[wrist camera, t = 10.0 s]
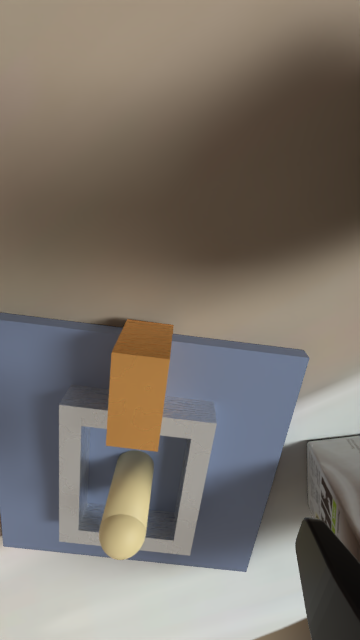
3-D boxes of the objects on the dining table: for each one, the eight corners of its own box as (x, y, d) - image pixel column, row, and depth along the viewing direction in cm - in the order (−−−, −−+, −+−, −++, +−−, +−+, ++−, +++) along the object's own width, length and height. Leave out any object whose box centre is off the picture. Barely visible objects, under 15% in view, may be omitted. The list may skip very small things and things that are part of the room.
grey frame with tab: (189, 526, 23) (190, 590, 20) (69, 513, 23) (46, 575, 19) (227, 332, 18) (238, 368, 14) (72, 312, 18) (41, 343, 14)
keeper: (303, 350, 19) (358, 424, 13) (243, 558, 26) (262, 675, 20) (-8, 311, 19) (-104, 369, 13) (10, 533, 25) (-48, 644, 19)
